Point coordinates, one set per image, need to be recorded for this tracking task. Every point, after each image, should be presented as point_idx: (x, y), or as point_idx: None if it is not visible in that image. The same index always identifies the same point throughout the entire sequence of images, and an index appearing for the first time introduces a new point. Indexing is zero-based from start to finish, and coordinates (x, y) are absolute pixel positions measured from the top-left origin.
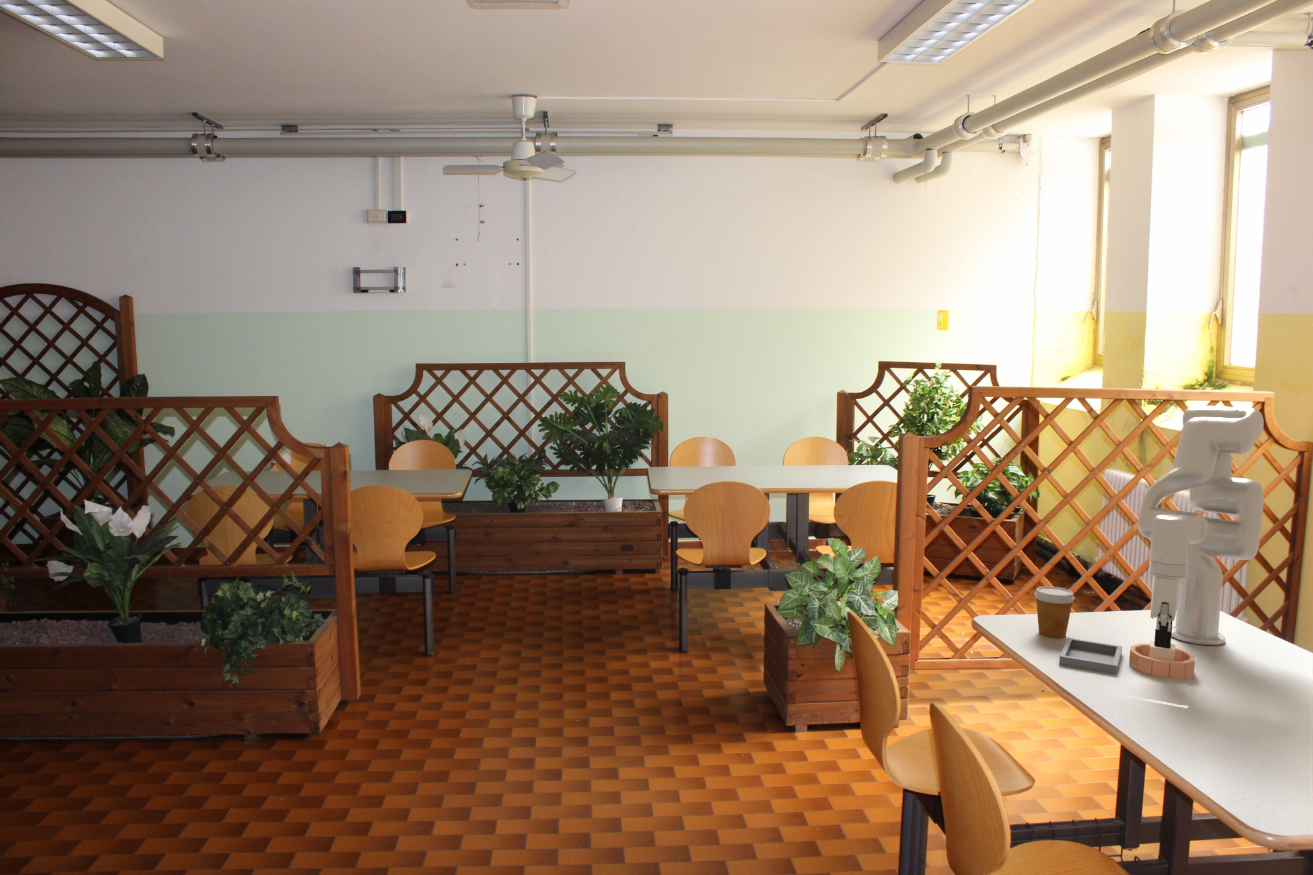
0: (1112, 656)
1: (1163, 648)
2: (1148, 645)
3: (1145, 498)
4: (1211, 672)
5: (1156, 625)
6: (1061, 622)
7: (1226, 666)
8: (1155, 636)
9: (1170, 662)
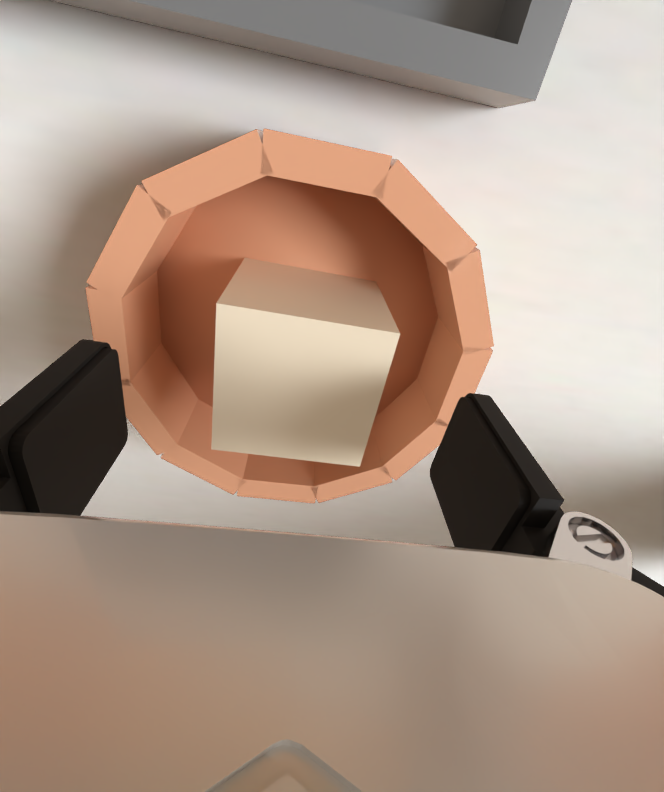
0: (433, 8)
1: (220, 391)
2: (452, 304)
3: None
4: (353, 496)
5: (500, 440)
6: None
7: (444, 540)
8: (30, 388)
9: None
